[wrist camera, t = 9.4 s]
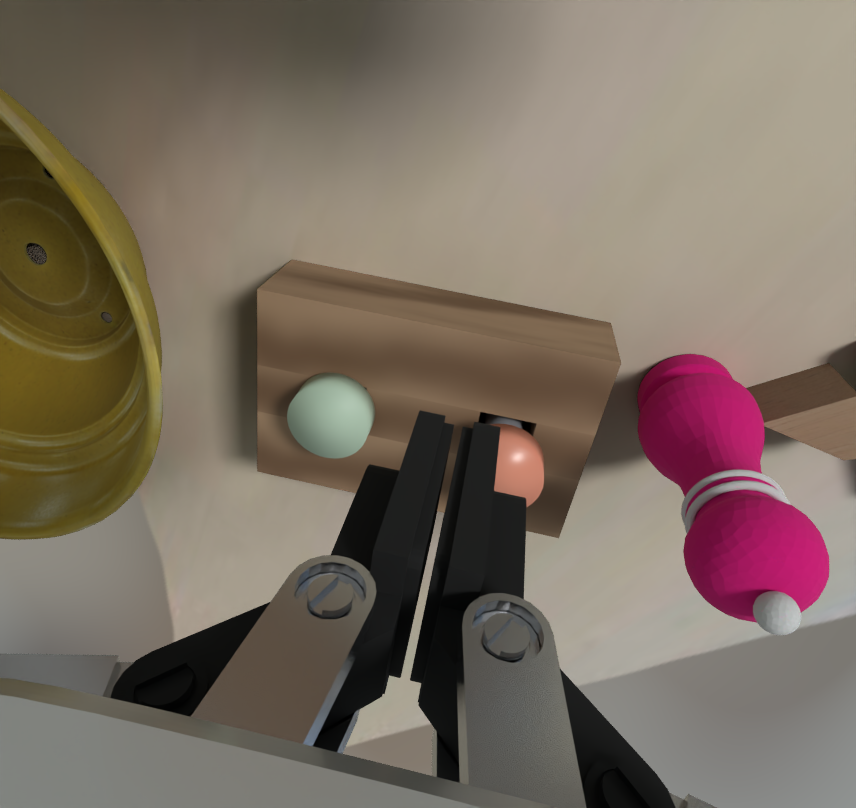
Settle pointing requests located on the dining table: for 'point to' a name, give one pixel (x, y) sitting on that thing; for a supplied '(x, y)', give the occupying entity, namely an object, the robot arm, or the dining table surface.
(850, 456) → the wooden block set
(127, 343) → the planter bowl
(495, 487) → the red button
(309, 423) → the green button
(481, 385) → the button panel
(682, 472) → the pepper mill
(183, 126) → the dining table surface
